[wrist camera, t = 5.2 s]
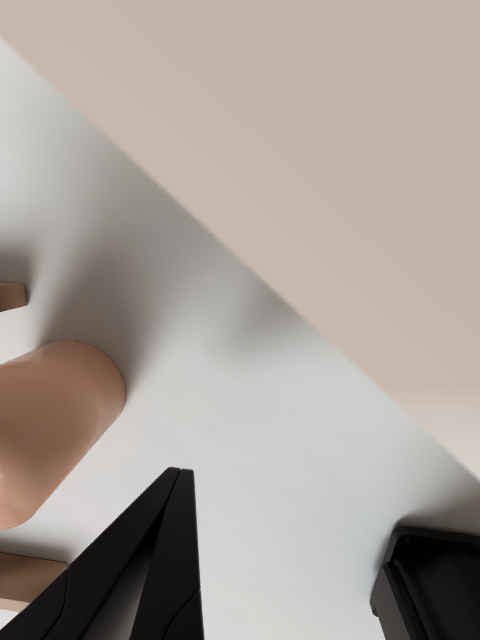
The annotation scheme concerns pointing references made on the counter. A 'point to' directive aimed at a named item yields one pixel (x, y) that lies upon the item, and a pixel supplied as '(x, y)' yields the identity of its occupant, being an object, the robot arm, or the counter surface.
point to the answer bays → (13, 570)
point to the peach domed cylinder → (51, 420)
